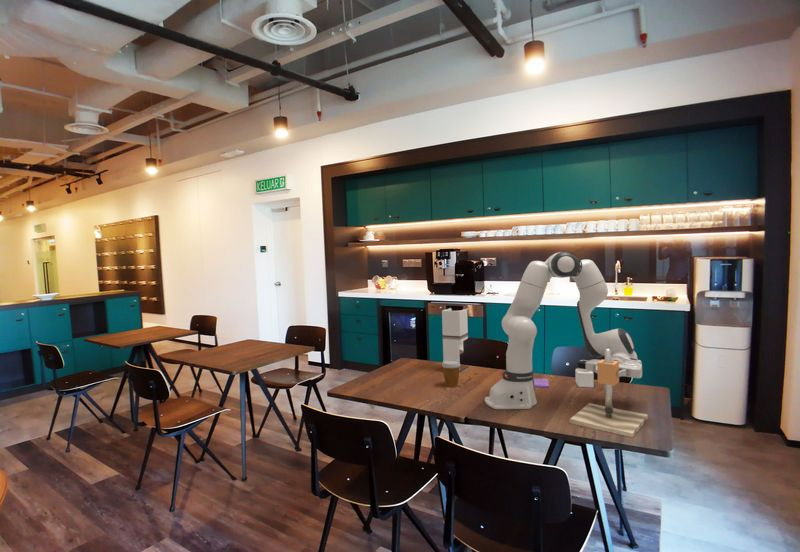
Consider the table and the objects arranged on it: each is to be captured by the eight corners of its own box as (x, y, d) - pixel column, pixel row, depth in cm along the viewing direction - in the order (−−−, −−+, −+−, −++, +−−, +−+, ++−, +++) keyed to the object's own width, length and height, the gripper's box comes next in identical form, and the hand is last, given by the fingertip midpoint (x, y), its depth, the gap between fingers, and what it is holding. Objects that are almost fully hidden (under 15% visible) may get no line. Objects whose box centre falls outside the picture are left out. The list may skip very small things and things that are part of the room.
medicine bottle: (594, 387, 206) (593, 362, 206) (578, 387, 208) (578, 362, 207) (590, 383, 213) (590, 359, 213) (575, 382, 215) (575, 359, 214)
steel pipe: (606, 414, 168) (605, 348, 167) (614, 416, 166) (613, 348, 165) (603, 417, 166) (602, 349, 164) (611, 418, 164) (610, 350, 162)
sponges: (534, 388, 209) (534, 385, 209) (533, 381, 221) (533, 377, 221) (549, 389, 207) (549, 385, 207) (547, 381, 220) (547, 378, 219)
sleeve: (602, 379, 169) (602, 359, 169) (619, 381, 165) (618, 361, 165) (597, 383, 165) (597, 362, 165) (614, 385, 161) (614, 364, 161)
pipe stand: (589, 406, 181) (589, 403, 181) (647, 418, 167) (647, 414, 167) (569, 422, 165) (569, 419, 165) (632, 437, 150) (632, 433, 150)
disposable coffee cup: (462, 387, 213) (461, 364, 212) (443, 388, 213) (442, 364, 213) (459, 382, 222) (459, 359, 222) (441, 382, 223) (440, 360, 222)
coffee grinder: (461, 374, 237) (459, 311, 236) (443, 372, 243) (441, 310, 241) (468, 369, 247) (467, 308, 246) (451, 367, 253) (450, 308, 251)
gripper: (591, 354, 181) (579, 360, 171) (645, 360, 168) (636, 368, 157) (591, 368, 182) (580, 376, 171) (645, 376, 168) (636, 385, 158)
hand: (607, 372), depth 164 cm, fingers closed on sleeve, 6 cm apart
